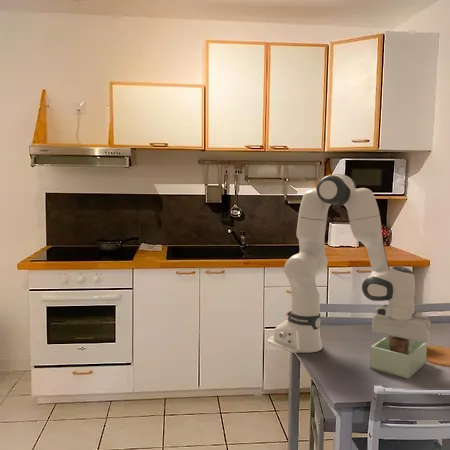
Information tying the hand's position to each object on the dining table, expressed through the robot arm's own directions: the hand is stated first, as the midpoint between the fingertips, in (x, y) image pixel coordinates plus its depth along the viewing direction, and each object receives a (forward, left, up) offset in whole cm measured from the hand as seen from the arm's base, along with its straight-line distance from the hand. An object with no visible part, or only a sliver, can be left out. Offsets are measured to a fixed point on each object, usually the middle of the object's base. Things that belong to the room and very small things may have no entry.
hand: (399, 348), depth 174 cm
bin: (0, 0, -7) cm, 7 cm away
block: (0, 0, -2) cm, 2 cm away
